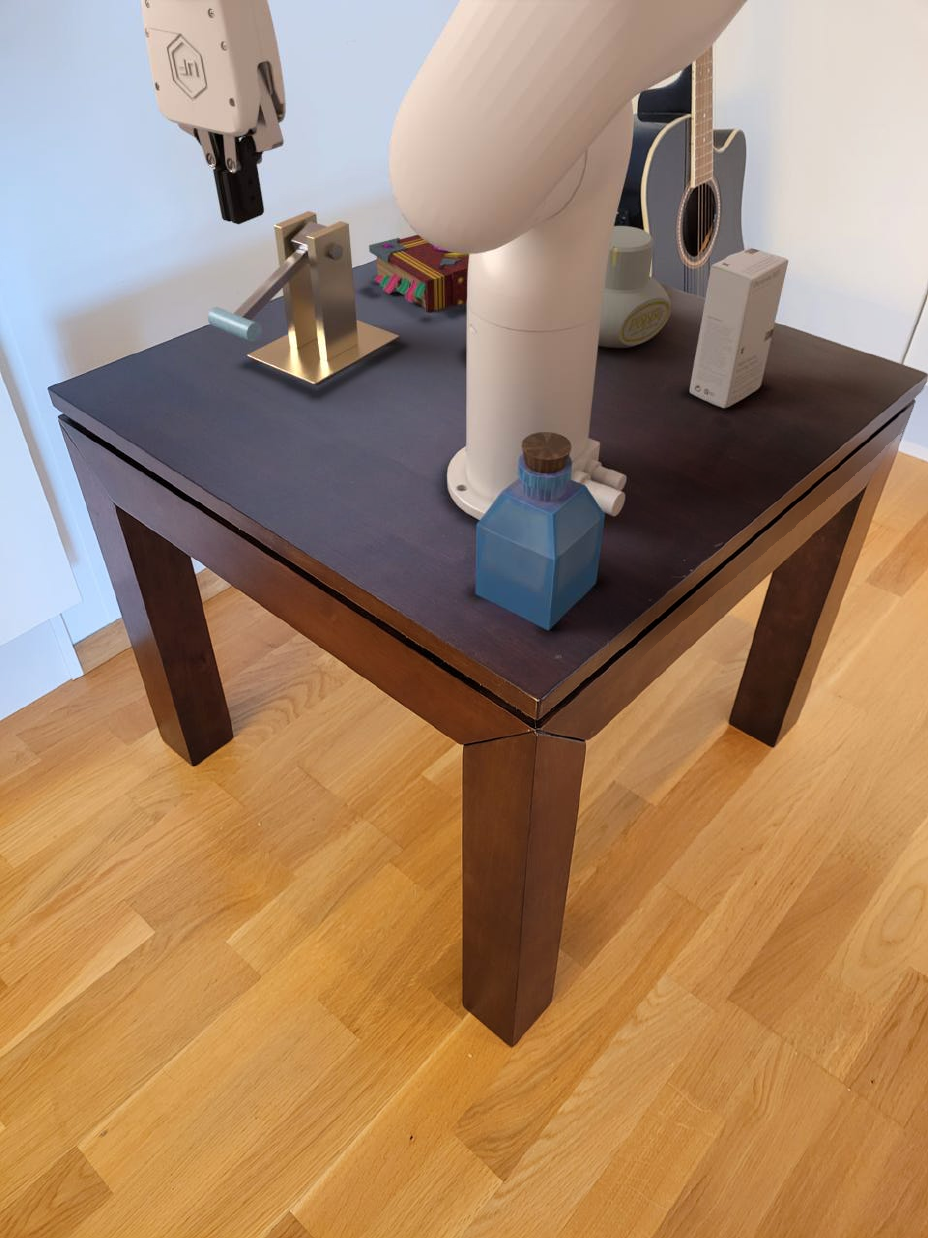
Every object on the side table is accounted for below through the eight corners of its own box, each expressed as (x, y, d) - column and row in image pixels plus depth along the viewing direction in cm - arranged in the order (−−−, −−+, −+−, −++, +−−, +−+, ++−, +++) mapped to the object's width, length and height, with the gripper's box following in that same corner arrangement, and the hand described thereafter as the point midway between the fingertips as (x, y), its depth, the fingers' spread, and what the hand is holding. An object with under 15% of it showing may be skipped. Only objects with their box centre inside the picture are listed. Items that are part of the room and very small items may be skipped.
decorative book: (540, 287, 105) (543, 242, 101) (419, 325, 98) (417, 278, 94) (479, 253, 111) (480, 210, 108) (362, 287, 104) (358, 242, 101)
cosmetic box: (726, 410, 86) (754, 280, 77) (685, 393, 88) (708, 264, 80) (763, 386, 89) (794, 258, 80) (722, 370, 91) (748, 244, 83)
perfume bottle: (548, 630, 65) (561, 485, 56) (475, 594, 67) (477, 450, 59) (595, 583, 68) (614, 440, 60) (525, 550, 71) (533, 409, 63)
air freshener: (602, 367, 91) (614, 265, 85) (544, 336, 96) (550, 237, 89) (678, 334, 96) (695, 235, 90) (619, 306, 101) (631, 210, 94)
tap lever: (253, 349, 82) (242, 328, 80) (214, 333, 84) (202, 312, 82) (347, 252, 86) (339, 229, 84) (307, 238, 88) (298, 216, 86)
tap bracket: (315, 395, 88) (299, 258, 79) (248, 366, 92) (226, 232, 83) (400, 346, 94) (393, 215, 86) (334, 321, 98) (321, 194, 90)
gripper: (84, -57, 66) (148, 213, 79) (230, -41, 59) (275, 252, 72) (168, -70, 71) (216, 187, 83) (313, -57, 64) (342, 222, 76)
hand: (243, 216), depth 77 cm, fingers closed
